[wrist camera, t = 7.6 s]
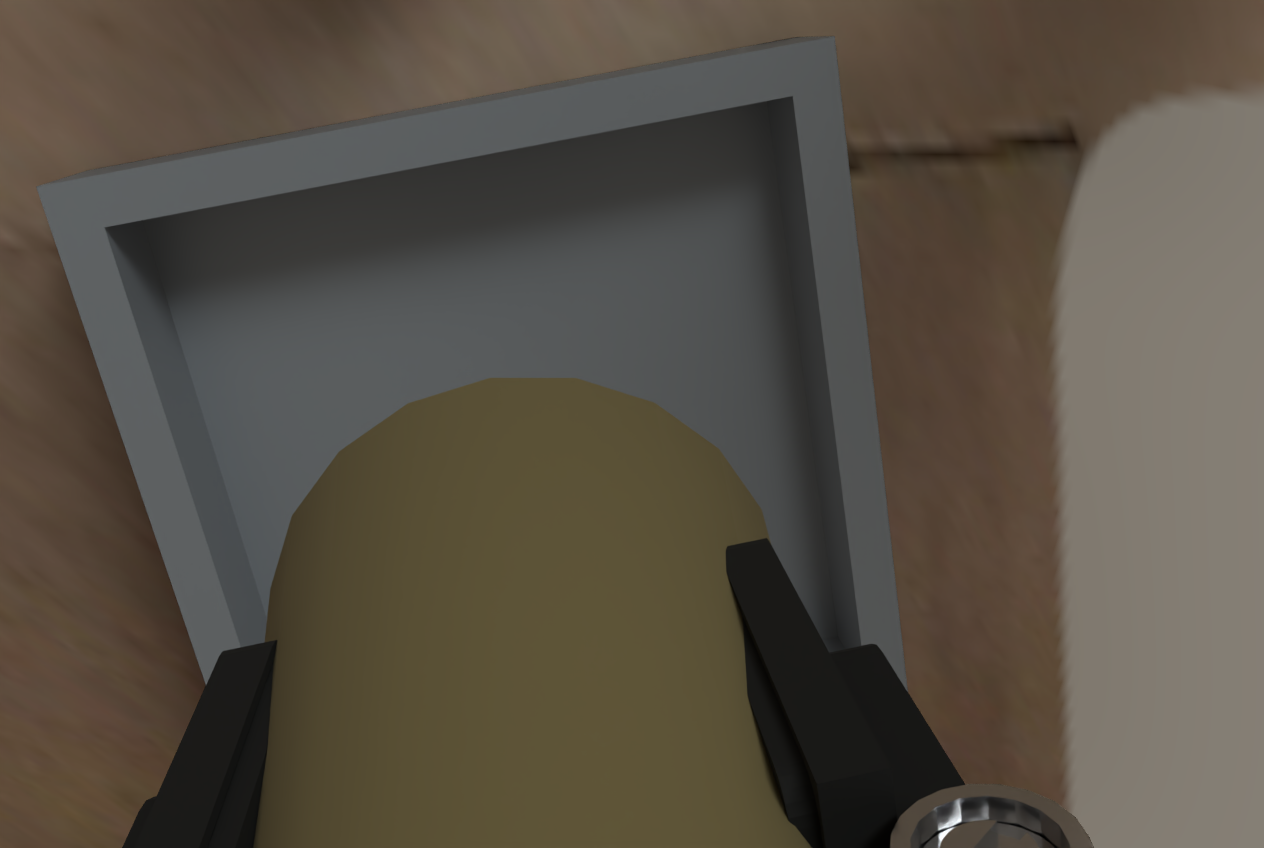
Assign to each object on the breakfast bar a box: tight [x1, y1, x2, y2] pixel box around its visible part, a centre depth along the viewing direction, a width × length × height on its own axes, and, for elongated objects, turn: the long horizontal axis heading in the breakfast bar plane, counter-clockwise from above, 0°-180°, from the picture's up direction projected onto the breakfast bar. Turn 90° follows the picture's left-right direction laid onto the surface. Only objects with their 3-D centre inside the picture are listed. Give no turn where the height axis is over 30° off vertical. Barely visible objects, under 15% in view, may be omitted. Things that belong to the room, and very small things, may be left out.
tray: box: [37, 36, 908, 692], centre depth 27 cm, size 16×16×3 cm
